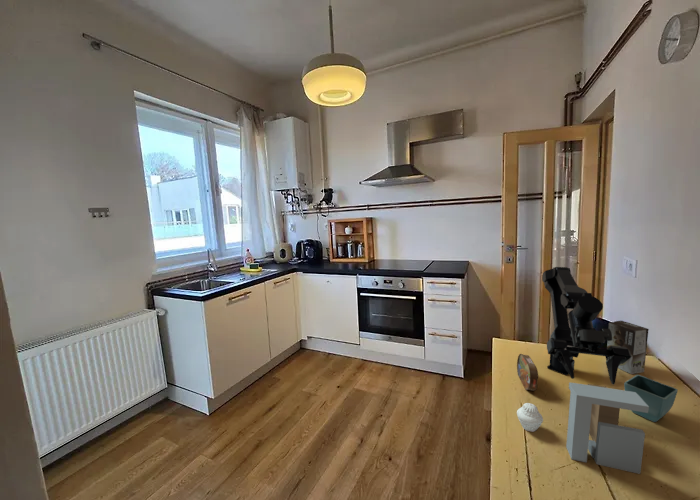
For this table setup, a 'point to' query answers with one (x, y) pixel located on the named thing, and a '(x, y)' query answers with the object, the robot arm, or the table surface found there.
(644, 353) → the coffee box
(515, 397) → the table surface
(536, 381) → the tin
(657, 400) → the flower pot
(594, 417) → the brown wooden block
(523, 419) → the muffin
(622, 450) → the grey gallows bracket
